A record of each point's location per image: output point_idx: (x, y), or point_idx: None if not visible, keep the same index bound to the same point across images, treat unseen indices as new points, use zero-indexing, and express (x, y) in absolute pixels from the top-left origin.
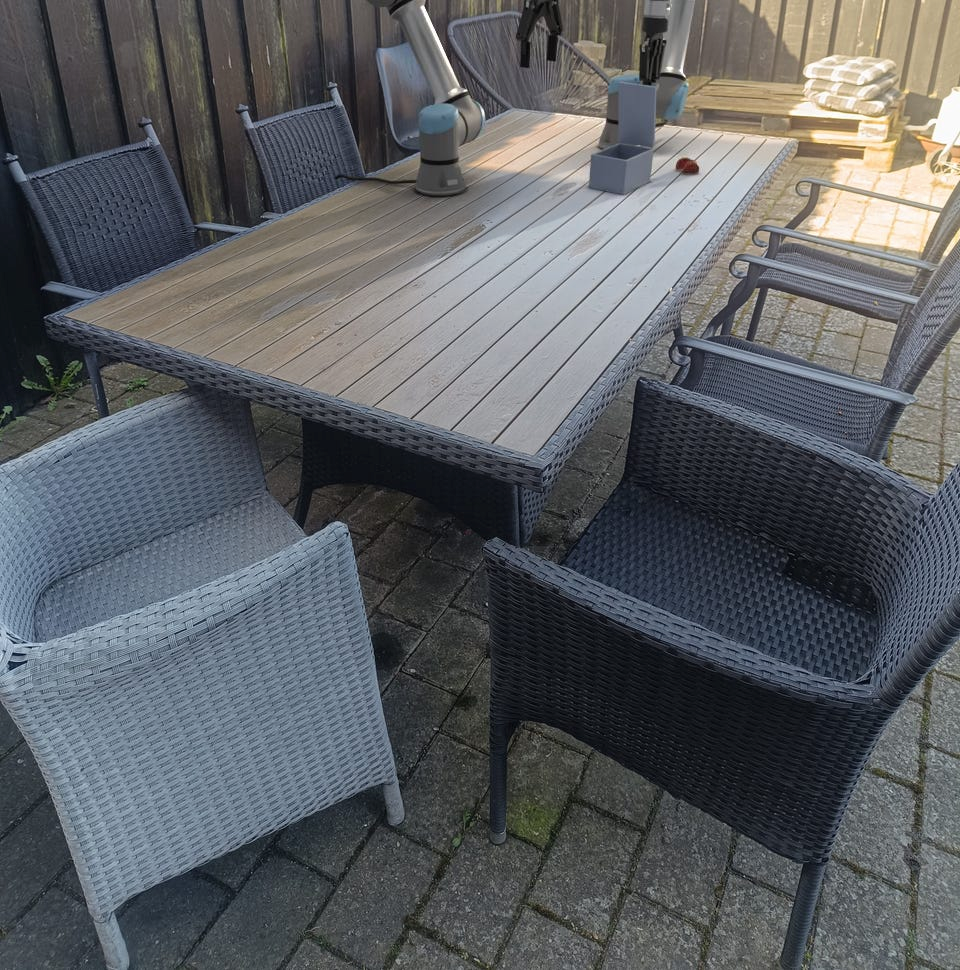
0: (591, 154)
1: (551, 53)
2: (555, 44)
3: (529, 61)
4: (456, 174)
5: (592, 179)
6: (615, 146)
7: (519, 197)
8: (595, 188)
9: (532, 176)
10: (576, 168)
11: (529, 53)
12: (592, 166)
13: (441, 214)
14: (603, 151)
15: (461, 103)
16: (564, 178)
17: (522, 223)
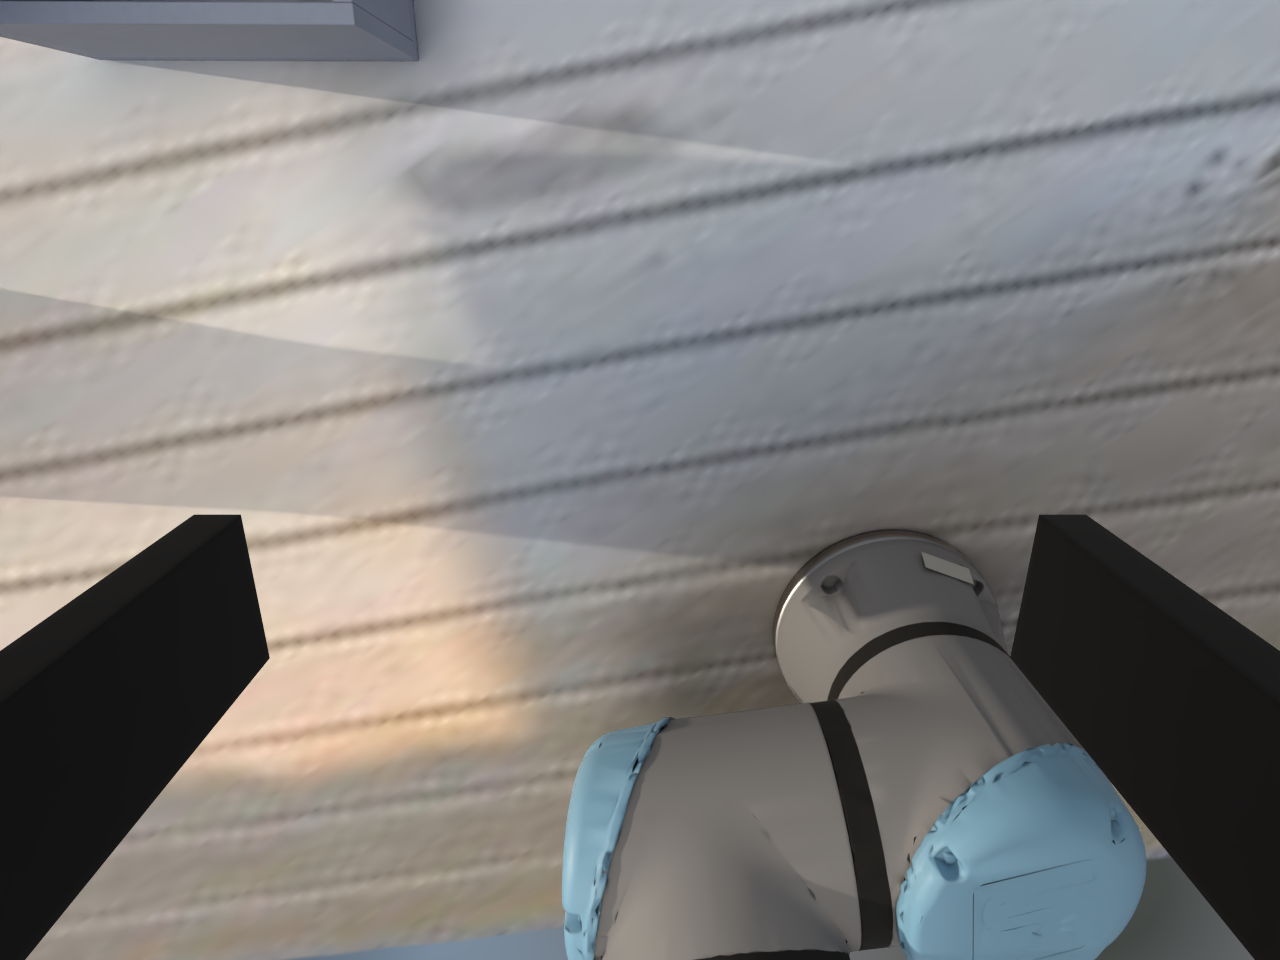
0: (352, 22)
1: (186, 648)
2: (34, 682)
3: (1110, 560)
4: (921, 584)
5: (402, 26)
6: (28, 2)
7: (791, 280)
8: (412, 8)
9: (457, 428)
10: (179, 326)
11: (1228, 640)
12: (378, 19)
13: (1191, 421)
14: (207, 3)
15: (788, 914)
16: (372, 276)
17: (1168, 6)
